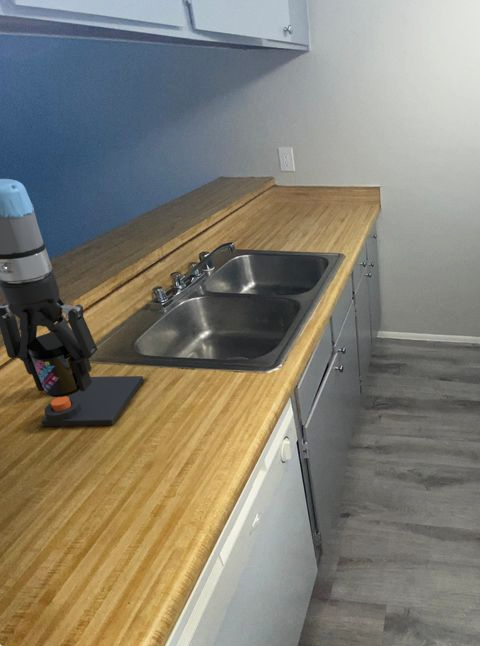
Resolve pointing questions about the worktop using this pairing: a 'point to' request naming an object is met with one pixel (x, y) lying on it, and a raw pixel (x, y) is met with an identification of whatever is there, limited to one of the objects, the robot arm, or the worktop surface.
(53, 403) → the button
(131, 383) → the kitchen scale
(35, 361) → the supplement container
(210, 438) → the worktop surface
